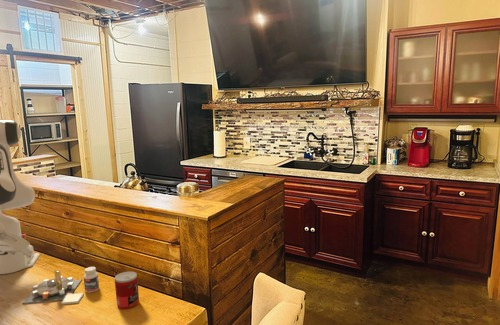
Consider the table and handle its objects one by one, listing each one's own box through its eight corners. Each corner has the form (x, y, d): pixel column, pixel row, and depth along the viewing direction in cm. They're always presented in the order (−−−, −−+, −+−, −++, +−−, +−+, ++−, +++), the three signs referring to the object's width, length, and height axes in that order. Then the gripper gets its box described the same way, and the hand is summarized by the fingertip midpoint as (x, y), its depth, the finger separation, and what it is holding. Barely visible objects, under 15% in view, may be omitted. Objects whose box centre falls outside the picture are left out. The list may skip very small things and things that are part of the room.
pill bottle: (83, 293, 139) (81, 272, 137) (86, 287, 144) (83, 267, 142) (98, 291, 140) (96, 270, 139) (100, 285, 145) (98, 265, 144)
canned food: (132, 310, 126) (130, 281, 124) (112, 308, 127) (109, 280, 126) (143, 299, 133) (141, 271, 131) (124, 297, 135) (121, 270, 133)
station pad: (67, 296, 137) (67, 294, 137) (83, 294, 138) (83, 293, 137) (61, 304, 131) (61, 302, 131) (78, 303, 132) (78, 301, 132)
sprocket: (42, 282, 147) (39, 261, 146) (79, 279, 149) (77, 259, 148) (24, 300, 133) (21, 278, 131) (66, 297, 134) (63, 274, 133)
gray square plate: (41, 283, 148) (41, 282, 148) (83, 280, 150) (82, 278, 150) (22, 304, 132) (22, 302, 132) (68, 300, 134) (68, 298, 134)
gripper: (12, 225, 114) (45, 247, 123) (-20, 224, 124) (13, 244, 132) (-1, 242, 110) (33, 263, 119) (-33, 240, 120) (1, 259, 128)
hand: (22, 253), depth 126 cm, fingers open, 8 cm apart
